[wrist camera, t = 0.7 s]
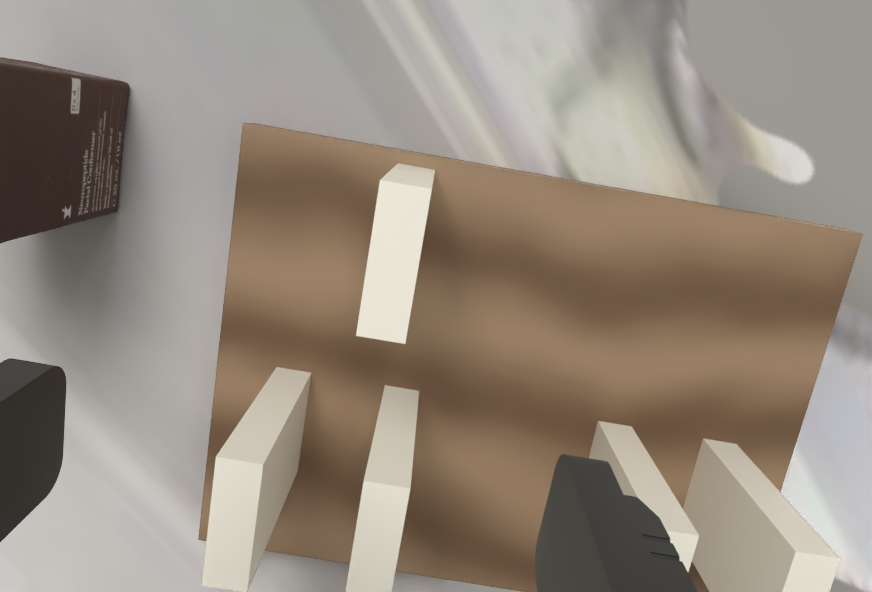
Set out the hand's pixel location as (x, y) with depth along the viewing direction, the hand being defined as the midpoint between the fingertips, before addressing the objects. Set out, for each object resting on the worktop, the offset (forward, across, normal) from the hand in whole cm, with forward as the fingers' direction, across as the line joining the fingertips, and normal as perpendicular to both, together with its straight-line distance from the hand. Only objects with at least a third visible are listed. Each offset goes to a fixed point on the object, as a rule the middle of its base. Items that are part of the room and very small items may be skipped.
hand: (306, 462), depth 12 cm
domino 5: (+20, -16, +9) cm, 28 cm away
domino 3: (+20, -2, +9) cm, 22 cm away
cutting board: (+22, -6, +6) cm, 24 cm away
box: (+22, +14, -2) cm, 27 cm away
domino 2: (+20, 0, -1) cm, 20 cm away
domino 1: (+20, +4, +9) cm, 22 cm away
